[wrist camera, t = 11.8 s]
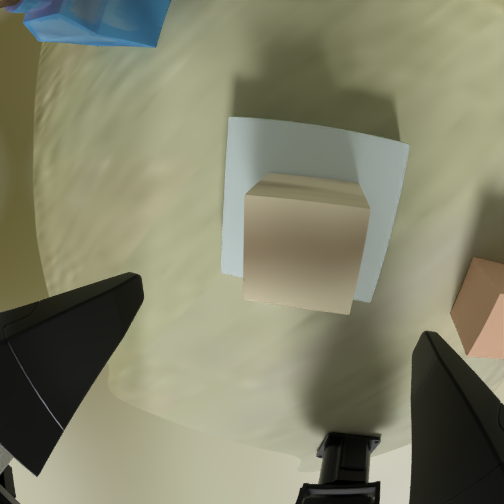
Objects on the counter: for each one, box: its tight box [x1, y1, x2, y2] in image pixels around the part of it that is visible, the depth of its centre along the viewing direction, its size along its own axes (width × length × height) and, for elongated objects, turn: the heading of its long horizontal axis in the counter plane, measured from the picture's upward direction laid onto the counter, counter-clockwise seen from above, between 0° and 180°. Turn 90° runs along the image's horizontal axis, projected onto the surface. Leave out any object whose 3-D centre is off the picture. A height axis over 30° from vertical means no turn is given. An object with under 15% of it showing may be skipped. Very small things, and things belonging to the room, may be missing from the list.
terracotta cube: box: [450, 257, 504, 359], centre depth 16 cm, size 5×5×5 cm
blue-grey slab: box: [221, 117, 410, 303], centre depth 18 cm, size 10×10×3 cm
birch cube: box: [243, 173, 371, 315], centre depth 15 cm, size 5×5×5 cm
